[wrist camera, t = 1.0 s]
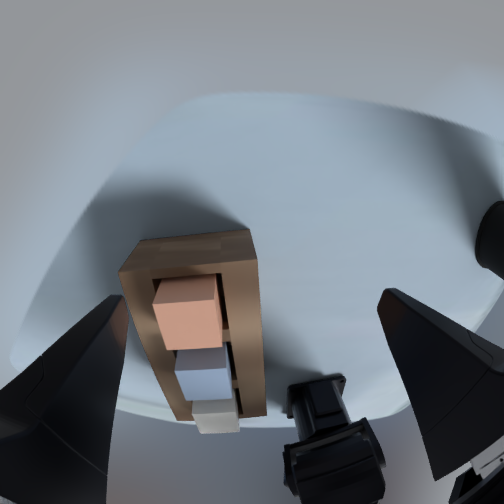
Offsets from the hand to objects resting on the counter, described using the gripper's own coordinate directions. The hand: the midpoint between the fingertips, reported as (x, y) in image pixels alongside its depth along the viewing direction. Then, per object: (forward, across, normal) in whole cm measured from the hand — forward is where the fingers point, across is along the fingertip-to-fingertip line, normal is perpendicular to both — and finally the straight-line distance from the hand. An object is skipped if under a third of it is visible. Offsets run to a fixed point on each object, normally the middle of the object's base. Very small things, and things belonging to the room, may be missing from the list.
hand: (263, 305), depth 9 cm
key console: (+10, +2, +10) cm, 15 cm away
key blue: (+7, +2, +10) cm, 13 cm away
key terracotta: (+8, +3, +5) cm, 10 cm away
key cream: (+7, +1, +15) cm, 17 cm away
